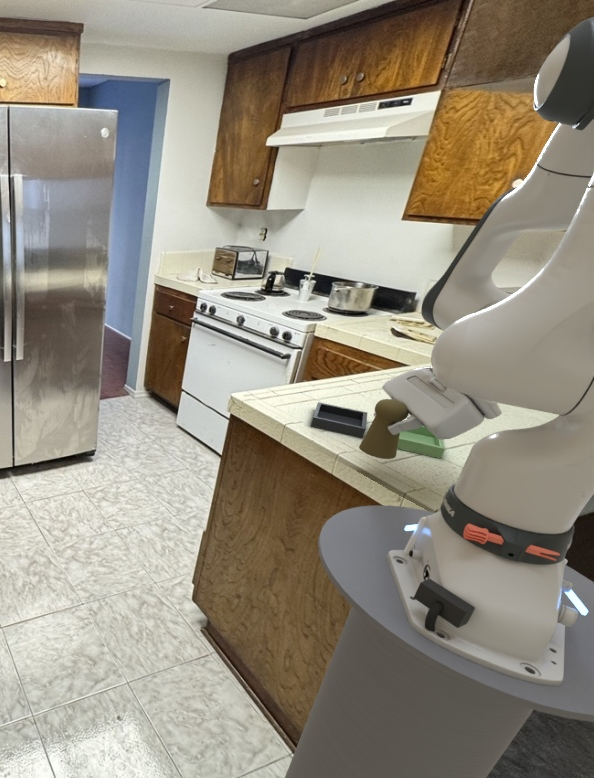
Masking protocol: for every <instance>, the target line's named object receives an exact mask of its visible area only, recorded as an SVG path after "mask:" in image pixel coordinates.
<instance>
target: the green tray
mask: <svg viewBox="0 0 594 778" xmlns="http://www.w3.org/2000/svg"><path fill="white" fill-rule="evenodd" d="M397 450H403V451H407V452H411V453H415V454H419V455H423V456H428V457H433V458H436V459H442V457H443V456H444V452H445V451H446V447H445V442H444V440H440V439H438V438H437V437H435V436H434V435H433V434H432V433H431V432H430V431H428V430H427V429H426V428H425V427H424V426H422V427H420V428H418V429H414V430H408V431H402V432H400V436H399V441H398V447H397Z"/></svg>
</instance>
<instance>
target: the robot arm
mask: <svg viewBox="0 0 594 778" xmlns="http://www.w3.org/2000/svg"><path fill="white" fill-rule="evenodd" d="M533 110H534V111H535V113H537V115H538V116H540V118H542V120H544V121H547V122H552V123H555V124H557V126H556V127H555V129H554V130H553V132H552V133H551V134H550V137H549V139H548V140H547V142H546V143H545V145H544V147H543V149H542V150H541V152H540V155H538V158H537V160H536V162H535V164H534V166H533V168H532V169H531V171H530V172H529V173H528V175H527V177H526V178H524V180H523V181H522V182H521V183H520V184H519V185H518V186H516V187H512V188H510V189H508V190H507V191H505V192H504V193H502V194H501V195H500V196H499V197H497V198H496V199H495V200H494V201H493V203H492V204H491V205H490V206H489V207H488V208H487V210H486V211H485V212H484V213H483V215H482V216H481V218H480V220H479V221H478V222H477V224H476V225H475V226H474V228H473V230H472V231H471V232H470V234H469V235H468V237H467V238H466V240H465V242H464V243H463V244H462V246H461V247H460V249H459V250H458V253H457V254H456V255H455V257H454V258H453V260H452V261H451V263H450V264H449V266H448V268H447V269H446V270H445V272H444V273H443V275H442V276H441V277H440V278H439V279H438V280H437V281H436V283H434V284H433V286H431V288H429V290H428V291H427V293H426V294H425V295H424V298H423V300H422V302H421V308H420V311H421V312H420V313H421V316H422V319H423V320H424V321H425V322H427V323H428V324H430V325H432V326H433V327H436V328H437V329H439V330H441V331H442V332H441V333H440V335H439V336H438V337H437V339H436V340H435V343H434V345H433V347H432V349H431V356H430V362H431V366H427V367H417V368H413V369H409V370H408V371H406V372H403V373H401V374H400V375H397V376H395V377H393V378H391V379H389V380H387V381H386V382H385V383H384V384H383V385H382V387H381V388H382V391H384V393H385V394H386V395H387V396H388V397H389V399H392V400H397V401H401V402H403V403H404V404H405V405H406V406H407V409H408V411H409V414H408V416H407V418H406V419H404V420H402V421H400V422H397V423H396V422H395V421H394V422H391V423H390V424H387V425H386V428H387V429H388V430H389V432H390V433H391V434H393V435H396V434H398V433H400V432H402V431H408V430H414V429H418V428H420V427H422V426H424V427H425V428H426V429H427V430H428V431H430V432H431V433H432V434H433V435H434V436H435V437H437V438H438V439H440V440H443V441H444V440H450V439H453V438H457V437H458V436H460V435H463V434H464V433H467V432H469V431H471V430H473V429H475V428H477V427H478V426H480V425H481V424H482V423H483V422H484V421H485V419H487V420H493V419H497V418H498V417H500V416H501V415H502V410H501V408H500V405H506V406H511V407H515V408H521V409H527V410H532V411H536V412H542V413H547V414H553V415H557V416H556V417H555V418H553V419H551V420H549V421H547V422H544V423H541V424H539V425H535V426H530V427H524V428H513V429H505V430H500V431H496V432H493V433H490V434H488V435H486V436H484V437H482V438H480V439H479V440H478V441H477V442H475V443H474V444H473V445H472V447H471V449H470V452H469V454H468V456H467V458H466V460H465V462H464V465H463V467H462V469H461V471H460V473H459V476H458V478H457V480H456V482H455V483H453V484H451V485H450V486H449V488H448V490H447V491H446V492H445V494H444V496H443V498H442V503H441V504H440V508H439V510H437V511H436V512H435V513H434V514H432V515H428V516H425V517H422V518H421V519H420V520H419V522H418V524H416V525H408V526H406V527H405V530H406V531H410V530H414V532H413V534H412V536H411V538H410V540H409V542H408V544H407V545H406V547H405V549H404V550H391V551H389V553H388V554H387V556H386V558H387V561H388V564H389V567H390V570H391V573H392V575H393V578H394V581H395V584H396V587H397V590H398V593H399V596H400V598H401V601H402V604H403V607H404V610H405V613H406V616H407V618H408V621H409V623H410V625H411V627H412V628H413V629H415V630H416V631H417V632H419V633H420V634H421V635H423V636H424V637H426V638H427V639H429V640H431V641H432V642H434V643H436V644H437V645H439V646H441V647H443V648H445V649H447V650H449V651H450V652H452V653H454V654H457V655H459V656H461V657H463V658H465V659H467V660H470V661H472V662H474V663H477V664H479V665H481V666H484V667H486V668H489V669H492V670H494V671H497V672H499V673H502V674H505V675H508V676H511V677H513V678H517V679H520V680H523V681H527V682H531V683H535V684H540V685H546V686H560V685H561V683H562V681H563V677H564V648H565V626H567V627H572V626H573V625H574V623H575V621H576V619H577V616H578V611H576V610H575V609H573V608H570V607H568V606H565V605H563V604H561V600H560V599H561V592H562V591H564V592H565V593H566V594H567V596H568V597H569V598H570V600H571V601H572V602H573V604H574V605H575V606H576V607H577V609H578V610H579V611H580V613H581V614H582V615H586V614H587V612H588V610H587V609H586V607H585V606H584V605H583V604H582V602H581V601H580V600H579V599H578V597H577V596H576V595H575V594H574V592H573V591H572V590H571V589H572V585H573V584H572V583H570V582H568V581H566V580H563V575H564V567H565V565H566V566H567V564H568V559H567V558H565V557H566V555H567V552H568V550H569V549H570V548H571V546H572V542H573V536H574V534H575V525H574V524H575V522H576V521H577V518H578V517H579V515H580V514H581V512H582V511H583V509H584V508H585V507H586V505H587V504H588V502H589V501H590V500H591V498H592V497H593V496H594V16H592V17H589V18H586V19H584V20H582V21H580V22H579V23H577V25H575V26H574V27H573V28H572V29H570V30H569V31H567V32H566V33H565V34H564V35H563V36H562V37H561V39H560V40H559V41H558V43H557V44H556V46H555V47H554V48H553V49H552V51H551V52H550V53H549V54H548V56H547V57H546V59H545V60H544V61H543V63H542V65H541V67H540V69H539V71H538V73H537V76H536V79H535V82H534V88H533ZM562 231H563V232H564V231H565V233H564V234H563V237H562V238H561V240H560V242H559V244H558V246H557V247H556V249H555V251H554V252H553V254H552V255H551V257H550V259H548V262H546V264H544V266H543V268H541V270H540V271H539V272H537V274H536V275H535V276H534V277H532V278H531V280H530V281H528V282H527V283H526V284H525V285H524V286H522V287H521V288H520V289H518V290H516V291H515V292H514V293H512V294H510V293H508V292H506V291H505V290H503V289H501V288H499V287H498V286H497V285H496V284H495V282H494V281H493V278H492V275H493V272H494V270H495V269H496V267H497V266H498V265H499V264H500V263H501V261H502V260H503V259H504V257H506V254H507V253H508V252H509V251H510V249H511V248H512V246H513V245H514V244H515V243H516V242H517V240H518V239H519V238H520V237H521V236H522V235H523V234H524V233H527V232H528V233H552V232H562ZM498 404H500V405H498ZM375 416H376V413H375V412H373V417H375Z"/></svg>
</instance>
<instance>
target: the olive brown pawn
mask: <svg viewBox="0 0 594 778" xmlns="http://www.w3.org/2000/svg"><path fill="white" fill-rule="evenodd" d="M374 413H376V416H374V418H373V420H372V422H371V424H370V425H369V427H368V429H367V431H366V432H365V434H364V436H363V438H362V441H361V442H360V444H359V446H358V449H359V450H360V451H361V452H362V453H363V454H366V455H368V456H371V457H373V458H377V459H382V460H393V459H395V458H396V456H397V452H398V448H397V447H398V441H399V436H400V433H398V434H396V435H393V434H391V433H390V432H389V430H388V429H387V428H386V425H387V424H390V423H391V422H394V421H395V422H396V423H397V422H400V421H404V420H407V417H409V415H410V414H409V411H408V409H407V406H406V405H405V404H404V403H403V402H401V401H397V400H392V399H391V398H385V399H383V398H382V399H380V400H379V401H377V403H376V404H375V407H374Z"/></svg>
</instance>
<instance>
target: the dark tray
mask: <svg viewBox="0 0 594 778" xmlns="http://www.w3.org/2000/svg"><path fill="white" fill-rule="evenodd" d="M367 421H368V411H364V410H363V411H362V410H359V409H358V410H357V409H354V408H348V407H343V406H338V405H334V404H329V403H324V402H317V404H316V407H315V410H314V412H313V416H312V419H311V423H310V427H312V428H317V429H321V430H325V431H329V432H334V433H338V434H342V435H347V436H350V437H354V438H360V439H364V437H365V434H366V429H367Z"/></svg>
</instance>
